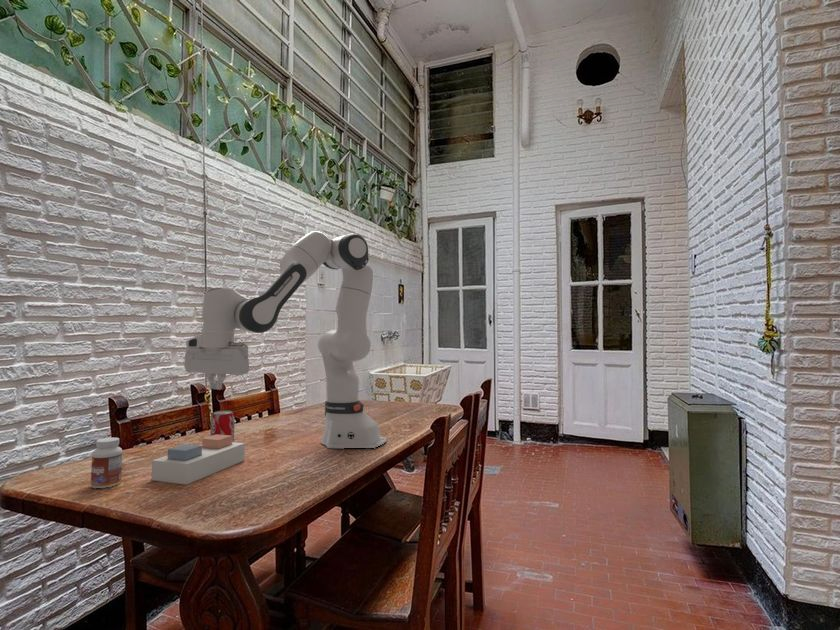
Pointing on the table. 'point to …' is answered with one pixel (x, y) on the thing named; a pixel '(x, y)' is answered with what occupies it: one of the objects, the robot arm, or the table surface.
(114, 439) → the pill bottle
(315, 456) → the table surface
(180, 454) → the slate key
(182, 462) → the key box
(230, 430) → the soda can
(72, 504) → the table surface
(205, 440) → the terracotta key
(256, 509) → the table surface
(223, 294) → the robot arm
